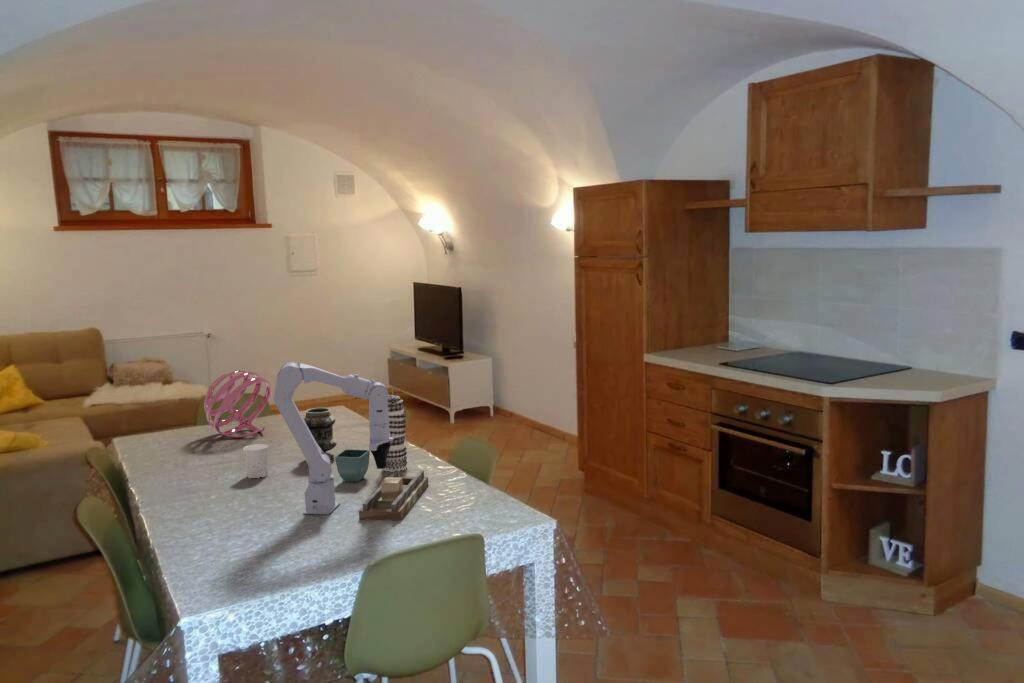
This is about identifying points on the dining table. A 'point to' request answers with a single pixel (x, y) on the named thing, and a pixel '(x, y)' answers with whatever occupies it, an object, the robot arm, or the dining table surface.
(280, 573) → the dining table surface
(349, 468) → the flower pot
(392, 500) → the trap box
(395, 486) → the maple block
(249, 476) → the white cup
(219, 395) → the pink slatted sphere
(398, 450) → the black and white cylinder
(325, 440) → the apothecary jar
